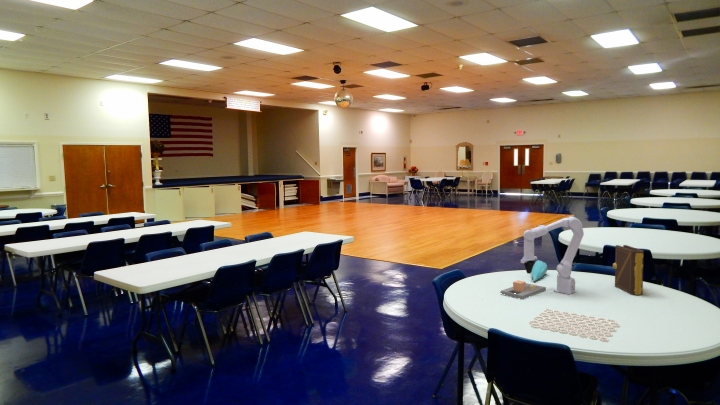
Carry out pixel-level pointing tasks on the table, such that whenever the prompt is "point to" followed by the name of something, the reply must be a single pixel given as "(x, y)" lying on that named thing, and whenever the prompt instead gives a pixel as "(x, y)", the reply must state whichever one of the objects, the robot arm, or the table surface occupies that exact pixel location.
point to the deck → (528, 292)
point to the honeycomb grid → (571, 328)
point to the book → (629, 269)
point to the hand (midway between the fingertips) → (529, 273)
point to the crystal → (538, 270)
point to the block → (519, 286)
